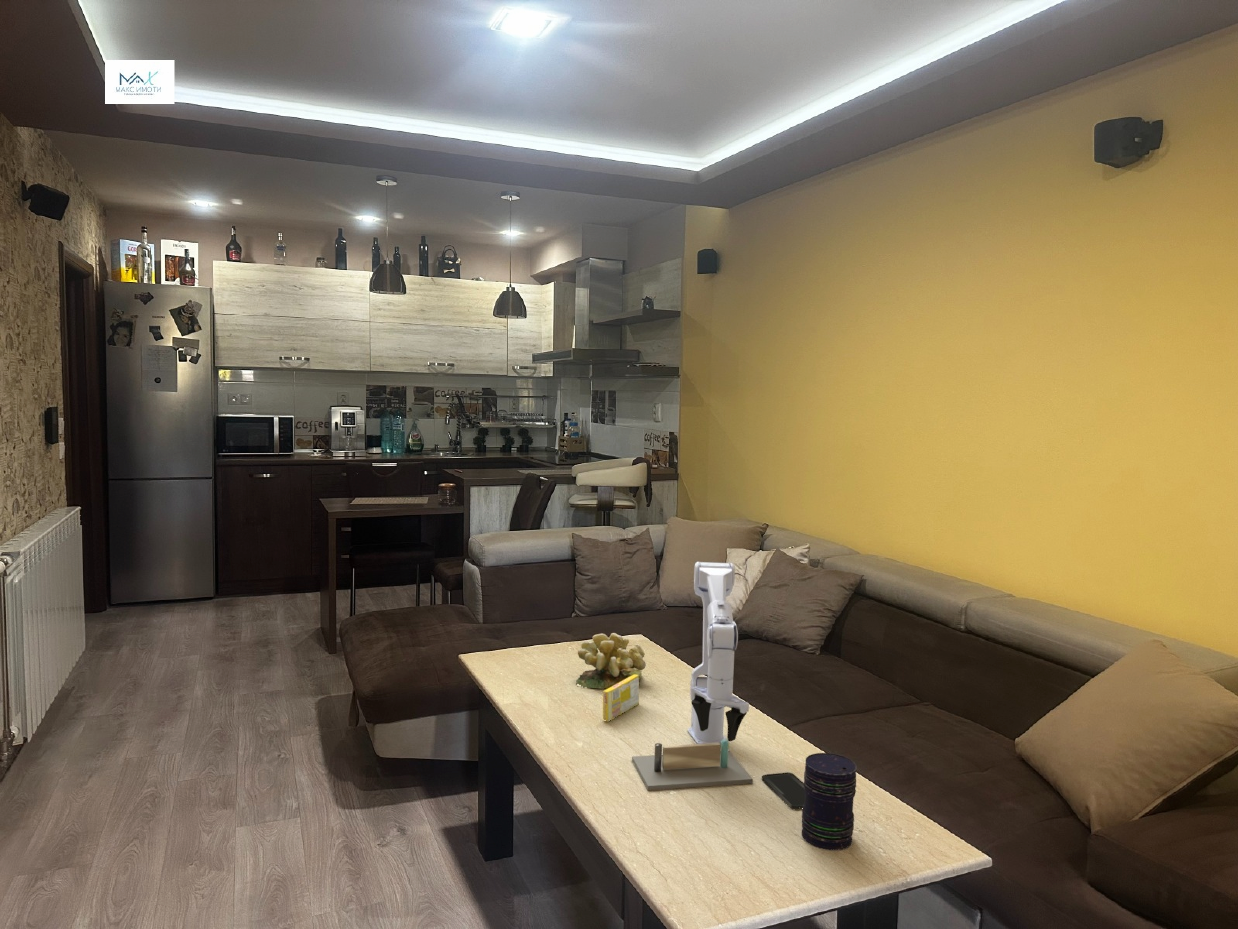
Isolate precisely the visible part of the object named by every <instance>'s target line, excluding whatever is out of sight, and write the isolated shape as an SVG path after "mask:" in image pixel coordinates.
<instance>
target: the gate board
mask: <svg viewBox="0 0 1238 929" xmlns="http://www.w3.org/2000/svg"><path fill="white" fill-rule="evenodd" d="M662 756H663V754H662ZM654 757H655V754H652V755H639V756H638V755H633V756H631V762H632V763H634V764H633V765H634V767H635V769H636V772H637V773H638V774H639V777H640V779H641V780H643V781H642V783H643V784H644V787H645V788H646V790H647V791H658V790H662V791H663V790H672V789H673V790H675V789H676V788H677V789H689V788H703V787H704V788H705V787H718V786H732V785H733V786H734V785H745V784H746V785H747V784H748V785H750V784H753V782H754V780H753V777H752V776H751V775H750V773H749V772H748V771H747V770H746V769H745V768H744V766H743V765H742V764H741V763H740V761H739V759H737V757H736V756H735V755H734V754H733V753H732V751H731V750H728V765H727V768H722V767H720V766H714V767H699V768H683V769H667V770H663V768H662V761H661V772H655V771H654ZM720 763H721V752H720ZM677 789H676V790H677Z"/></svg>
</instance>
